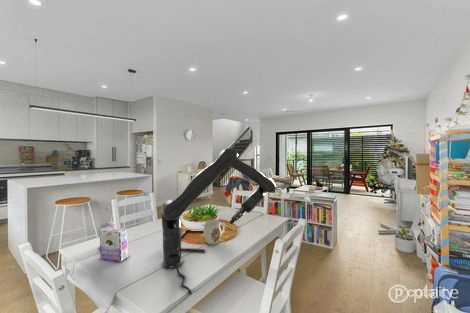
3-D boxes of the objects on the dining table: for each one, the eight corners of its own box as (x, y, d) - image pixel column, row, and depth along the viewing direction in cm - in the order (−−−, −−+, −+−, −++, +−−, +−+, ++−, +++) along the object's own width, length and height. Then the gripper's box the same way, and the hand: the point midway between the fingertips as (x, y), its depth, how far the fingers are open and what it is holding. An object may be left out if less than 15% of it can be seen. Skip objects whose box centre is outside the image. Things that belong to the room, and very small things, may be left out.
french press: (109, 251, 129) (108, 209, 128) (92, 249, 131) (91, 208, 130) (121, 243, 139) (120, 205, 137) (105, 242, 141) (104, 204, 140)
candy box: (128, 257, 122) (127, 228, 121) (120, 262, 116) (119, 232, 116) (108, 254, 126) (107, 225, 125) (99, 259, 120) (98, 229, 119)
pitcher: (229, 240, 142) (229, 220, 142) (206, 249, 131) (206, 226, 130) (220, 235, 151) (220, 216, 150) (197, 243, 139) (196, 221, 139)
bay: (215, 232, 155) (215, 230, 155) (204, 252, 127) (204, 250, 127) (186, 231, 159) (186, 229, 159) (168, 249, 130) (168, 247, 130)
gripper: (246, 196, 143) (229, 213, 146) (244, 202, 129) (225, 220, 131) (255, 204, 143) (237, 221, 145) (253, 211, 128) (233, 229, 131)
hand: (231, 221), depth 138 cm, fingers open, 6 cm apart
